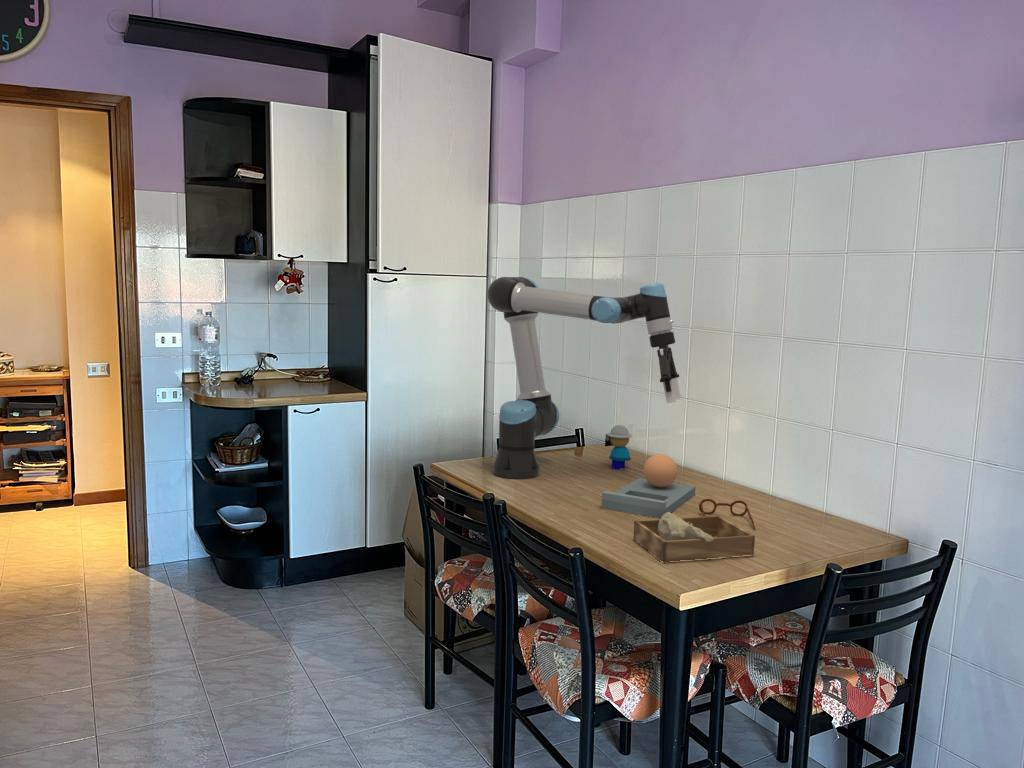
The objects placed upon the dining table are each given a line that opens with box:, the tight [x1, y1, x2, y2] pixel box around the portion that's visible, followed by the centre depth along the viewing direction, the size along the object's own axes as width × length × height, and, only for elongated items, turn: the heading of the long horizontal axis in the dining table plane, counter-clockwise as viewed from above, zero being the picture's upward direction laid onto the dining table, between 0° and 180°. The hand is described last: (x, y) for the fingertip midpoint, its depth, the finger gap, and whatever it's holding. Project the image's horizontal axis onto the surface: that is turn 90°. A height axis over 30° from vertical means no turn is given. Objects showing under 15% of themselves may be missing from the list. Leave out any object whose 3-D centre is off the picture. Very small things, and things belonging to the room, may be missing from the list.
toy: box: [604, 424, 633, 471], centre depth 272 cm, size 8×9×15 cm
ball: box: [643, 453, 678, 488], centre depth 238 cm, size 10×10×10 cm
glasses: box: [698, 498, 757, 531], centre depth 214 cm, size 13×13×5 cm
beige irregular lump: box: [658, 512, 715, 542], centre depth 192 cm, size 15×7×15 cm
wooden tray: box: [632, 515, 756, 562], centre depth 192 cm, size 16×23×5 cm
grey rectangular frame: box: [601, 477, 696, 519], centre depth 232 cm, size 30×18×4 cm, turn 151°
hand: (674, 400), depth 245 cm, fingers open, 13 cm apart
